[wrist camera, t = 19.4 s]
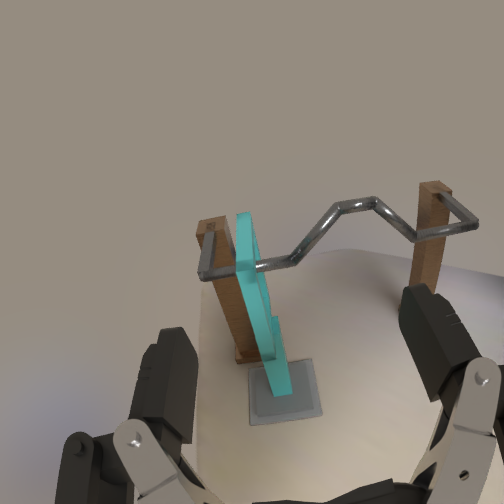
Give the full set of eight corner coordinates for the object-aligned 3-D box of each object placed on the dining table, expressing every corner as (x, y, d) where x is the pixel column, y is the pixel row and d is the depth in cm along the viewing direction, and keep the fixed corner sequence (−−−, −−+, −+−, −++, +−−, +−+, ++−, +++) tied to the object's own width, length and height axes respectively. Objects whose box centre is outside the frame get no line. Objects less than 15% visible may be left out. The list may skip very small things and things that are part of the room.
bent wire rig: (421, 303, 43) (441, 147, 29) (448, 353, 34) (499, 182, 20) (237, 341, 46) (183, 187, 32) (237, 400, 37) (160, 239, 23)
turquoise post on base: (255, 369, 40) (205, 220, 27) (305, 361, 40) (282, 205, 27) (258, 422, 33) (194, 279, 20) (314, 413, 33) (297, 261, 20)
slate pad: (312, 359, 40) (311, 358, 40) (322, 415, 33) (322, 414, 32) (249, 369, 41) (248, 368, 41) (250, 425, 33) (250, 424, 33)
